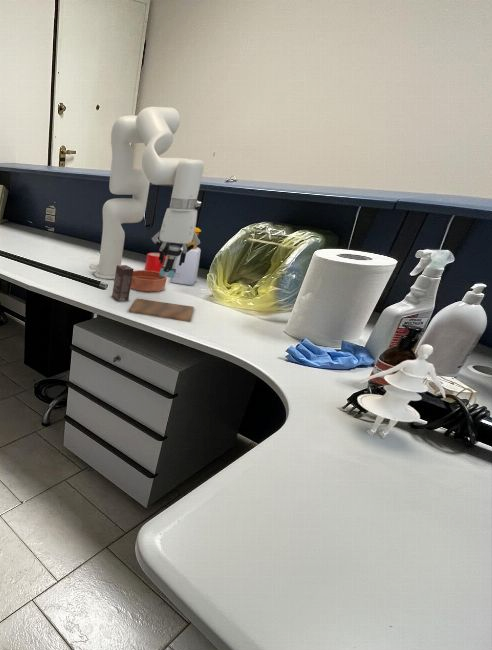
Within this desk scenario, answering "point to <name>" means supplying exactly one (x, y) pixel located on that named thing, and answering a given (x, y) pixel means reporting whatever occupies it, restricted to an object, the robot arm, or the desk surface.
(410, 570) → the desk surface
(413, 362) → the figurine
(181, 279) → the soap bottle
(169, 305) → the cork mat
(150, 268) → the mug
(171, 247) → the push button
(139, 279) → the bowl
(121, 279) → the box
